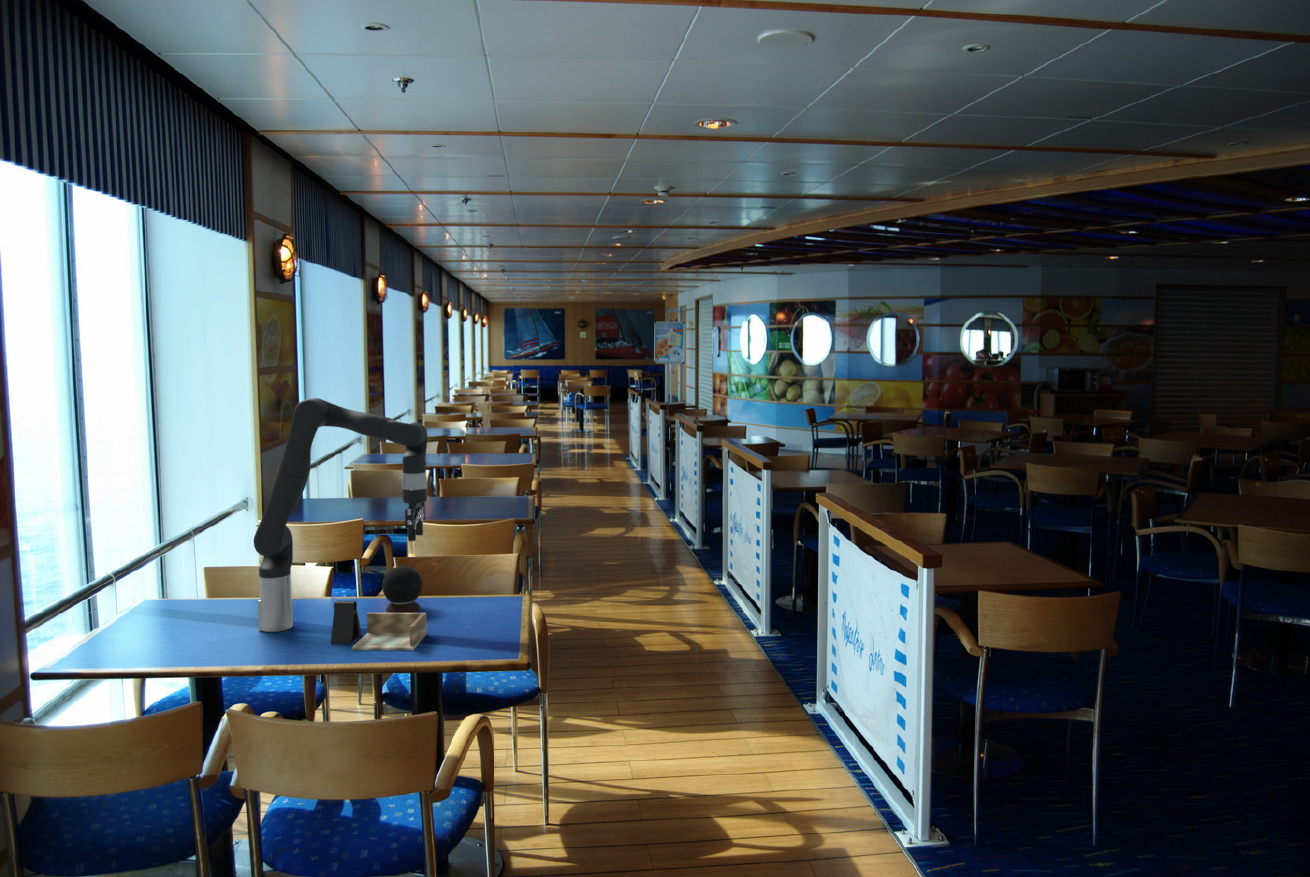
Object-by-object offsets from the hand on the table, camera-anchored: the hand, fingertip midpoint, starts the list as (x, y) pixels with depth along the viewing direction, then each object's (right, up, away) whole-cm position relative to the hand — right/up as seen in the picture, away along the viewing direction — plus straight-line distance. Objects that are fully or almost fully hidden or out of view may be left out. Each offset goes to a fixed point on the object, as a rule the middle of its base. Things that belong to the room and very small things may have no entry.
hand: (415, 538), depth 283 cm
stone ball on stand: (-11, -27, +24) cm, 38 cm away
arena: (-5, -30, -10) cm, 32 cm away
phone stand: (-19, -30, -8) cm, 37 cm away
